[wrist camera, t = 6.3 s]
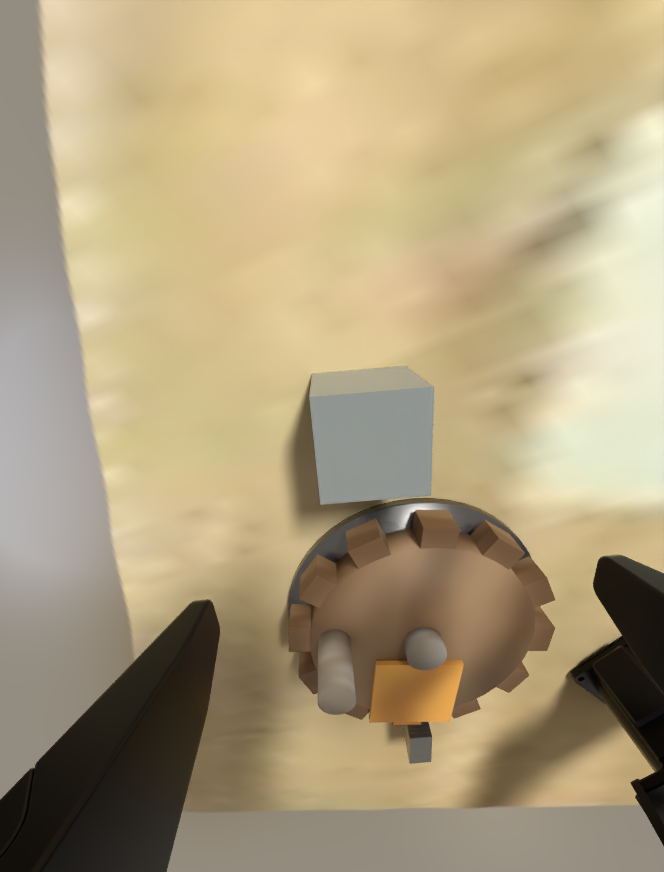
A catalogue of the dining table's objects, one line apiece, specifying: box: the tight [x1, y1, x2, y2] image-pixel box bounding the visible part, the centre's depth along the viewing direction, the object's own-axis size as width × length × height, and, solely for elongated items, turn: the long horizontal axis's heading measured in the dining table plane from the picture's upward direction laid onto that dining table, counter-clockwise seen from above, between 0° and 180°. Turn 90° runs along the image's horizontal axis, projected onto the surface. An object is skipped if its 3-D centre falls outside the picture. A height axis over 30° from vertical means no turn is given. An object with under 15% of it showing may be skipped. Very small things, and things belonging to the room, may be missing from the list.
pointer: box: [402, 722, 432, 764], centre depth 27 cm, size 3×2×3 cm, turn 4°
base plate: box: [289, 498, 531, 620], centre depth 24 cm, size 17×17×1 cm
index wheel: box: [289, 510, 555, 725], centre depth 21 cm, size 17×17×6 cm
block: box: [309, 366, 434, 505], centre depth 17 cm, size 5×5×5 cm
